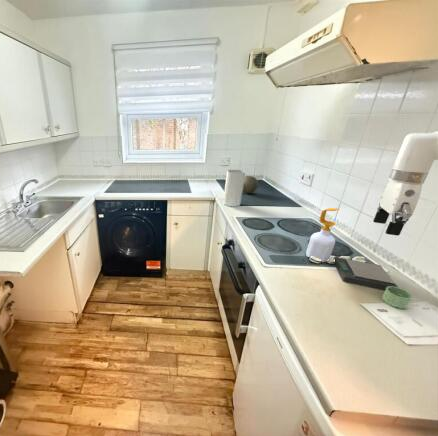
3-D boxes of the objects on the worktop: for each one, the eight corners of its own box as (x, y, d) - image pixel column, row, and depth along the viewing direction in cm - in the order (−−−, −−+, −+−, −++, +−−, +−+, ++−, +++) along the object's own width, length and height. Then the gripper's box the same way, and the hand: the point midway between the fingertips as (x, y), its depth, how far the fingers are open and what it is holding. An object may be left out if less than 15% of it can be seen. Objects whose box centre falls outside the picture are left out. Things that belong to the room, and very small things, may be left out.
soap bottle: (323, 264, 105) (341, 213, 95) (301, 255, 112) (316, 207, 102) (332, 258, 109) (350, 209, 100) (311, 250, 116) (325, 203, 107)
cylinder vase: (243, 204, 180) (248, 171, 170) (235, 208, 172) (240, 173, 162) (227, 200, 188) (232, 168, 178) (219, 204, 180) (223, 171, 170)
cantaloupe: (238, 190, 213) (241, 174, 207) (255, 192, 209) (258, 175, 203) (238, 195, 200) (241, 177, 195) (257, 196, 196) (260, 178, 190)
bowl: (401, 299, 85) (407, 289, 83) (411, 312, 79) (417, 301, 77) (378, 294, 87) (383, 284, 85) (386, 306, 82) (391, 295, 80)
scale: (378, 269, 101) (380, 263, 100) (395, 292, 88) (399, 286, 87) (333, 261, 107) (335, 255, 106) (343, 281, 94) (345, 275, 93)
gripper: (442, 184, 62) (414, 242, 69) (409, 172, 77) (388, 220, 83) (405, 181, 65) (381, 237, 72) (379, 170, 80) (361, 217, 86)
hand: (385, 228), depth 77 cm, fingers open, 9 cm apart
